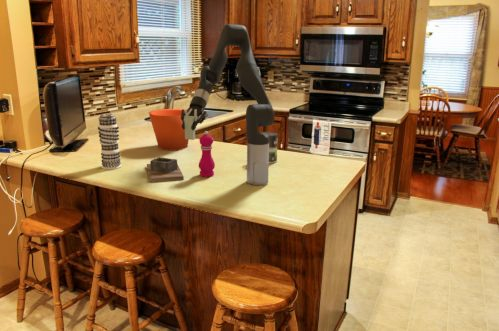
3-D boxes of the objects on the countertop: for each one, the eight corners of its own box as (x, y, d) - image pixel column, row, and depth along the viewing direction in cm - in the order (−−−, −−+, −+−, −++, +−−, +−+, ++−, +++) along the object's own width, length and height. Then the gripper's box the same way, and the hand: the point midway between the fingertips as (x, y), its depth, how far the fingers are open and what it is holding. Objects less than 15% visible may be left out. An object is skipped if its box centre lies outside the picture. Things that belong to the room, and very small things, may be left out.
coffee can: (278, 159, 217) (279, 132, 213) (275, 164, 207) (276, 136, 203) (258, 157, 219) (259, 131, 215) (254, 163, 209) (255, 135, 205)
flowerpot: (176, 154, 223) (174, 117, 218) (141, 148, 235) (138, 113, 230) (203, 145, 244) (203, 111, 239) (170, 140, 256) (169, 107, 251)
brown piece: (176, 164, 204) (176, 152, 202) (183, 179, 182) (183, 166, 180) (146, 166, 200) (146, 154, 198) (150, 182, 178) (149, 168, 176)
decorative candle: (113, 170, 193) (109, 116, 187) (97, 168, 197) (92, 115, 190) (125, 165, 202) (122, 113, 195) (109, 163, 205) (105, 112, 198)
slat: (195, 139, 202) (194, 116, 199) (193, 139, 201) (192, 116, 198) (187, 138, 204) (186, 115, 201) (185, 139, 202) (184, 116, 199)
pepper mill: (200, 172, 192) (199, 129, 187) (215, 172, 192) (215, 129, 186) (197, 177, 185) (196, 132, 180) (214, 177, 185) (213, 133, 180)
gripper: (184, 94, 206) (171, 123, 199) (210, 96, 201) (197, 125, 193) (190, 104, 212) (178, 132, 205) (215, 106, 207) (203, 134, 200)
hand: (187, 128), depth 199 cm, fingers closed on slat, 4 cm apart
